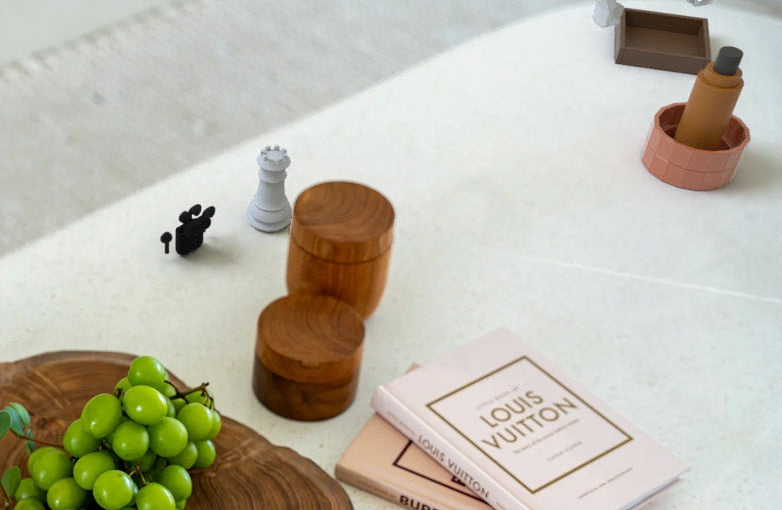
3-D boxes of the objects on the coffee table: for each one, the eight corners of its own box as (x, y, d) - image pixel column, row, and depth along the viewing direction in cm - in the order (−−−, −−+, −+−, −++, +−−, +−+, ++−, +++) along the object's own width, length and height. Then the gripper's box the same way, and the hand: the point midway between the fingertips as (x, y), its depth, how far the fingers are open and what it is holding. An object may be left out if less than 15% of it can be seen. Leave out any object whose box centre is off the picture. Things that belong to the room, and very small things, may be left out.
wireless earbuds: (209, 231, 113) (210, 189, 109) (227, 243, 112) (229, 201, 108) (157, 262, 110) (156, 219, 106) (174, 274, 108) (175, 232, 105)
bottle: (708, 155, 122) (754, 43, 112) (710, 179, 119) (757, 66, 109) (665, 149, 123) (707, 37, 113) (666, 172, 120) (709, 59, 110)
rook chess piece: (240, 211, 115) (244, 143, 110) (281, 203, 116) (287, 135, 110) (255, 237, 112) (260, 169, 107) (297, 229, 113) (305, 161, 108)
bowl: (730, 150, 123) (747, 109, 120) (735, 201, 117) (753, 159, 114) (639, 136, 125) (653, 96, 121) (639, 185, 119) (654, 144, 115)
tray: (700, 37, 140) (708, 18, 138) (704, 80, 133) (711, 60, 131) (614, 25, 142) (620, 6, 140) (613, 67, 135) (619, 47, 133)
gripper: (616, -121, 82) (569, 54, 92) (841, -163, 87) (773, 8, 97) (564, -153, 86) (525, 18, 96) (783, -192, 91) (723, -25, 101)
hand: (651, 13), depth 97 cm, fingers open, 8 cm apart
